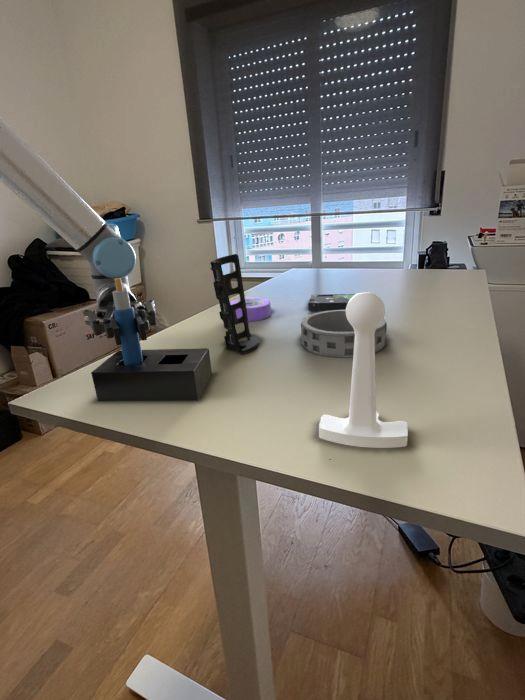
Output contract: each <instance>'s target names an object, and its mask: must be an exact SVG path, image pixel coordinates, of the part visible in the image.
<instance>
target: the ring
mask: <svg viewBox="0 0 525 700" xmlns="http://www.w3.org/2000/svg"><path fill="white" fill-rule="evenodd" d="M386 320H387V319H385V317H384V318H383V320H382V322H381V323H380V324H379V325H378V326H377V328H376V330H375V333H374V342H375V353H377V352H380V351H382V350H383V348H384V347H385V345H386V343H387V329H388V322H387V321H386ZM300 334H301V344H302V347H303V348H304V349H305V350H307V351H308V352H310V353H312V354H316V355H318V356H324V357H328V358H329V357H330V358H353V354H354V340H355V332H354V329H353V327H352V325H351V324H350V323H349V321H348V320H347V317H346V310H330V311H317V312H315V313H311V314H309V315H307V316H305V317H304V318H303V319H302V320H301V323H300Z"/></svg>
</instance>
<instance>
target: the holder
mask: <svg viewBox="0 0 525 700" xmlns="http://www.w3.org/2000/svg"><path fill="white" fill-rule="evenodd" d="M230 263H233V264H234V265H233V266H234V271H232V272H230V273H225V274H224V271H223V268H222V266H223V265H226V264H230ZM209 264H210V266H211V267H210V268H209V269H210V271H212V274H213V288H214V293H215V297H216V299H217V300H218V304H219V308H220V311H219V312H218V313H219V317H220V320H221V321H222V322H223V323H222V324H223V327H224V329H225V332H224V333H225V335H224V336H223V337H224V344H225V347H226V349H229V350H231V351H235V352H237V353H239V355H245V354H247V353H249V352H250V351H252V350H254V349H256V348H257V347H258V346H259V344H260V343H261V341H260V339H259V337H257V336H254V335H252V334H251V332H250V325H249V321H248V316H247V309H246V302H245V298H246V296H245V289H244V282H243V277H242V276H243V275H242V270H241V264H240V258H239V254H237V253H234V254H228V255H225V256H221V257H218V258H216V259H214V260H211V261H210V262H209ZM233 279H236V282H237V286H236V287H234V288H233V286H232V280H233ZM238 294H239V299H240V302H238V303H236V304H232V305H230V302H231V301H230V296H233V295H238ZM239 308H241V309H242V315H243V316H242V317H240V318H237V315H236V310H237V309H239ZM239 324H243V329H244V330H242V331H240V332H238V331H237V327H236V326H237V325H239ZM244 338H246V340H241V339H244ZM247 339H248V340H247Z"/></svg>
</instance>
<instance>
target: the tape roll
mask: <svg viewBox="0 0 525 700" xmlns="http://www.w3.org/2000/svg"><path fill="white" fill-rule="evenodd" d="M238 302H240V298H239V299H235V300H232V301H230V305H232V304H236V303H238ZM245 302H246V309H247V316H248V322H258V321H262V320H265V319H268V318H269V317H271V316H272V307H271V304H272V303H271V300H270V299H268V298H265V297H245ZM236 315H237V318H240V317H242V316H243V315H242V309H241V308H239V309H237V310H236Z"/></svg>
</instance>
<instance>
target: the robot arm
mask: <svg viewBox="0 0 525 700" xmlns="http://www.w3.org/2000/svg"><path fill="white" fill-rule="evenodd" d="M0 182H1V183H2V184H3V185H4V186H5V187H6V188H7V189H8V190H9V191H10V192H12V194H13V195H15V196H16V197H17V198H18V199H19V200H21V202H22V203H24V204H25V205H26V206H27V207H28V208H29V209H31V210H32V211H33V212H34V214H36V215H37V216H38V217H39V218H40V219H41V220H43V221H44V223H46V224H47V225H48V226H49V227H50V228H51V229H53V231H55V232H56V233H57V234H58V235H59V236H60V237H61V238H63V240H65V241H66V242H67V243H68V244H69V245H70V246H71V247H72V248H74V249H75V250H76V251H77V252H78V253H79V255H81V257H83V258H84V259H85V260H87V262H88V265H89V270H90V274H91V280H92V281H91V282H92V285H93V290H94V291H93V292H94V296H95V297H94V298H95V300H96V304H97V308H96V310H94V309H92V310H90V309H84V310H83V311H82V314H83V319H84V323H85V325H88V326H90V328H91V330H92V332H93V335H94V336H101V335H102V334H103V333H105V335H106V339H113V338H114V341H115V343H116V346H121V345H122V343H121V338H120V333H119V328H118V325H117V323H116V320H115V316H114V311H113V310H114V309H116V308H115V303H114V298H113V293H112V292H113V291H115V290H116V285H115V280H114V279H116V278H121V282H122V287H123V289H126V290H128V295H129V300H130V306H131V307H133V308H134V313H135V319H136V325H137V330H138V335H139V338H140V339H141V341H147V340H148V338H147V331H150V328H151V327H150V326H153V327H155V326H157V325H158V322H157V316H156V314H157V310H156V304H155V300H154V299H149V300H147V301H145V302H143V304H142V303H141V301H138V300H137V299H136V297H135V295H134V294H133V292H132V291H131V289H130V282H129V278H128V277H129V275H130V274H131V273H132V272H133V270H134V269H135V266H136V263H137V255H136V251H135V250H134V248H133V246H132V245H131V244H130V243H129V242H128V241H127V240H126V239H125V238H122V236H121V233H120V231H119V226H118V225H117V224H115V223H107V222H106V221H105V220H104V219H103V217H101V216H100V215H99V214H98V212H96V211H95V210H94V209H93V208H92V207H91V206H90V205H89V204H88V203H87V202H86V201H85V200H84V199H83V198H82V197H81V196H80V195H79V194H78V193H77V192H76V191H75V190H74V188H73V187H71V186H70V185H69V184H68V183H67V181H65V180H64V179H63V178H62V177H61V176H60V175H59V174H58V173H57V172H56V171H55V170H54V169H53V168H52V167H51V165H49V164H48V163H47V162H46V161H45V160H44V159H43V158H42V157H41V156H40V155H39V154H38V153H37V152H36V151H35V150H34V149H33V148H32V147H31V146H30V145H29V144H28V143H27V142H26V140H24V139H23V138H22V137H21V136H20V135H19V134H18V133H17V132H16V131H15V130H14V129H13V128H12V127H11V126H10V125H9V124H8V123H7V122H6V121H5V120H4V119H3V118H2V117H1V116H0ZM100 320H102V321H100Z"/></svg>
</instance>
